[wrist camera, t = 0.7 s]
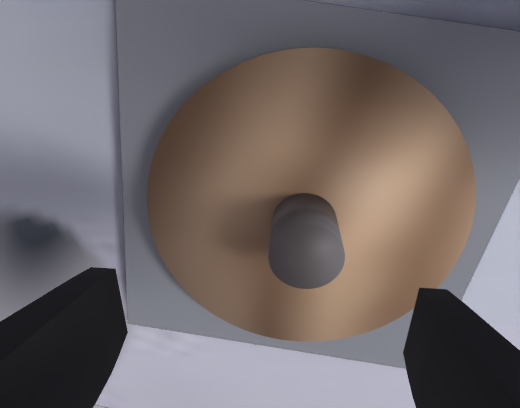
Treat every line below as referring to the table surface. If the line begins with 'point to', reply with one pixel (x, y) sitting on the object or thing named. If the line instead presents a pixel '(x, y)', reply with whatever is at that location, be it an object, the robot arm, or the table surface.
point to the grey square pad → (289, 37)
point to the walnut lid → (311, 194)
